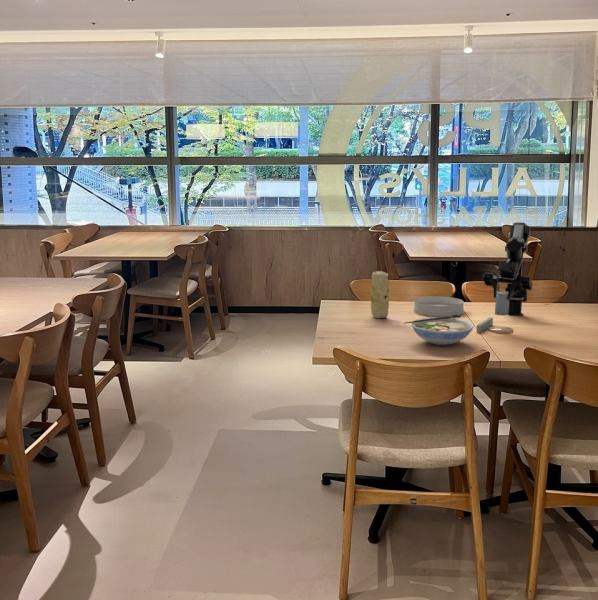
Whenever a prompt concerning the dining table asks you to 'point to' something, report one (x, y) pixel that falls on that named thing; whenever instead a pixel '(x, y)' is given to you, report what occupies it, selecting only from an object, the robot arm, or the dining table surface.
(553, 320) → the dining table surface
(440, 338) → the ramen bowl
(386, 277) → the food model
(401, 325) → the dining table surface
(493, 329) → the coaster
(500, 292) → the salt shaker
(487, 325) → the acrylic divider
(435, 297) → the dish
